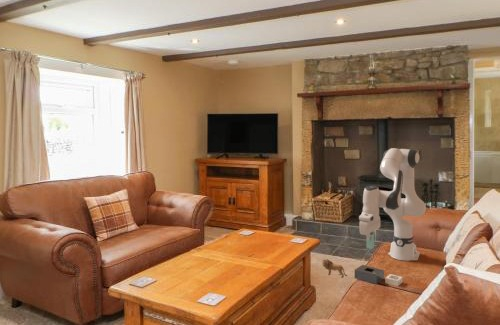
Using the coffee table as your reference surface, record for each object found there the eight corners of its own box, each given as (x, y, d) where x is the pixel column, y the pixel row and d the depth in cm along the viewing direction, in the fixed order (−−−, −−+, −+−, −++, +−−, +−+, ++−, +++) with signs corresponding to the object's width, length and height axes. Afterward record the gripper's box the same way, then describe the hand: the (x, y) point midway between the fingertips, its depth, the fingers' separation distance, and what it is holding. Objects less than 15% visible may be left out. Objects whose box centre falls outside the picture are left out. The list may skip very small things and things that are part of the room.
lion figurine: (321, 274, 229) (321, 260, 228) (323, 271, 234) (323, 257, 233) (346, 278, 223) (346, 263, 222) (348, 275, 228) (348, 260, 227)
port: (362, 273, 231) (362, 264, 230) (383, 278, 223) (384, 269, 222) (354, 278, 223) (354, 269, 223) (376, 284, 215) (376, 274, 214)
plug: (368, 246, 223) (369, 231, 222) (373, 247, 221) (374, 232, 220) (366, 248, 221) (366, 232, 220) (371, 249, 219) (371, 233, 218)
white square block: (390, 279, 222) (390, 274, 221) (402, 282, 217) (402, 277, 217) (385, 283, 216) (385, 277, 216) (397, 286, 212) (398, 281, 212)
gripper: (373, 210, 229) (372, 234, 230) (357, 217, 214) (356, 242, 215) (383, 212, 225) (383, 235, 226) (368, 219, 210) (367, 244, 211)
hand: (370, 239), depth 221 cm, fingers closed on plug, 3 cm apart
